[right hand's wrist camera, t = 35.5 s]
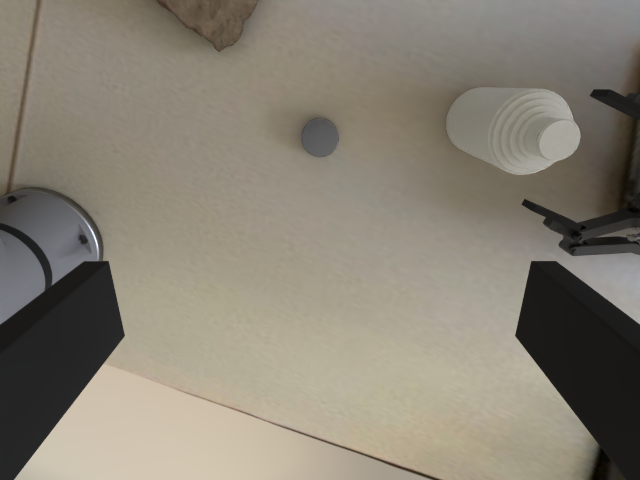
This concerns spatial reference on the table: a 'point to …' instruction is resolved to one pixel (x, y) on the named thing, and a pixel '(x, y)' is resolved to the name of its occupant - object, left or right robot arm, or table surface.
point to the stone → (213, 18)
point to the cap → (320, 137)
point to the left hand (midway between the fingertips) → (561, 151)
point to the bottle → (513, 127)
